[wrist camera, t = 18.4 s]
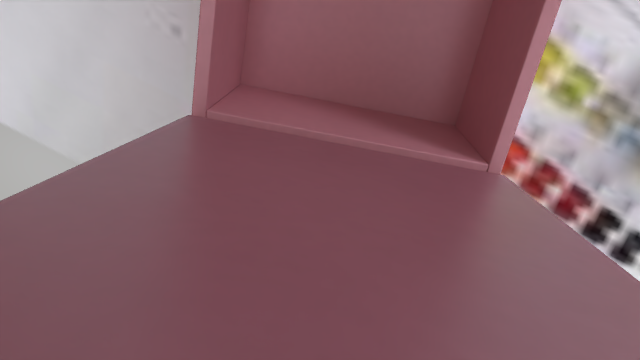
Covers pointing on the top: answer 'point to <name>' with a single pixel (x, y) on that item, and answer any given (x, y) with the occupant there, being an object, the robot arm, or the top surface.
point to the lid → (297, 259)
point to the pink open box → (375, 72)
